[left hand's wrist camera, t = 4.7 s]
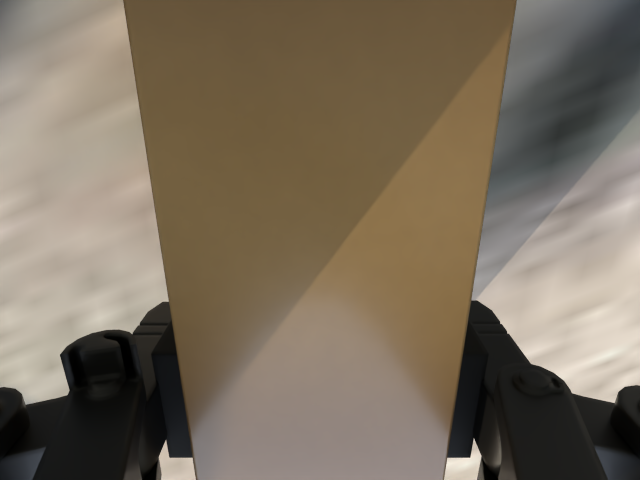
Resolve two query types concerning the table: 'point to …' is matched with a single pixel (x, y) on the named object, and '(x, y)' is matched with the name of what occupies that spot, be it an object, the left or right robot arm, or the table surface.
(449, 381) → the beam
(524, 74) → the table surface
